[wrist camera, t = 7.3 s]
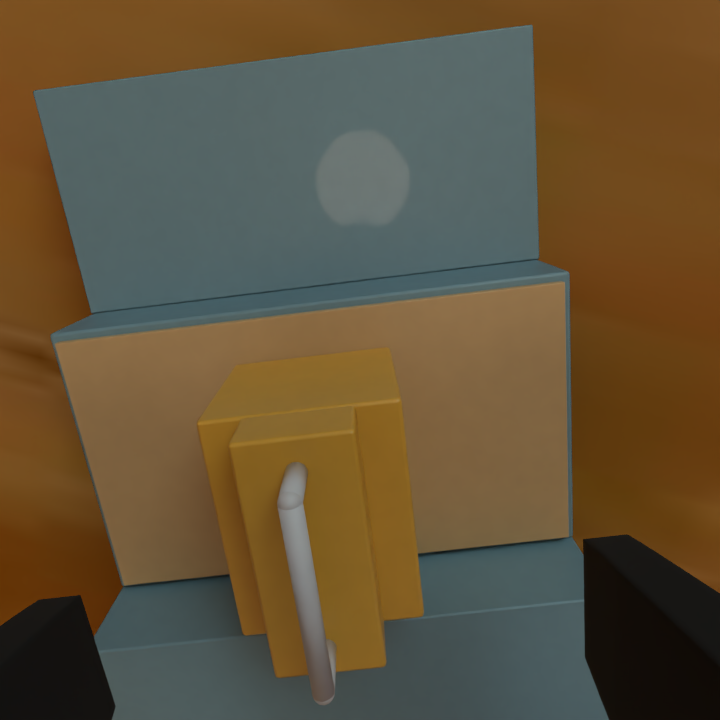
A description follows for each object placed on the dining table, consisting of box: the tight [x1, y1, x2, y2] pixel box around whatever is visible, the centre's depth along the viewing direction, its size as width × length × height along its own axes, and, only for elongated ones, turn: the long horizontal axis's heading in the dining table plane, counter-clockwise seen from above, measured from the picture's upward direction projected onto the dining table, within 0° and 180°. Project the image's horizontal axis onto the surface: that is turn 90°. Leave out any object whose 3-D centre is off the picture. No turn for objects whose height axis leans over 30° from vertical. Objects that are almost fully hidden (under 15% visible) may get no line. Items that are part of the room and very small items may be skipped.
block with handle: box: [196, 347, 424, 705], centre depth 11 cm, size 5×4×6 cm
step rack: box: [33, 25, 609, 720], centre depth 15 cm, size 18×12×6 cm, turn 7°
